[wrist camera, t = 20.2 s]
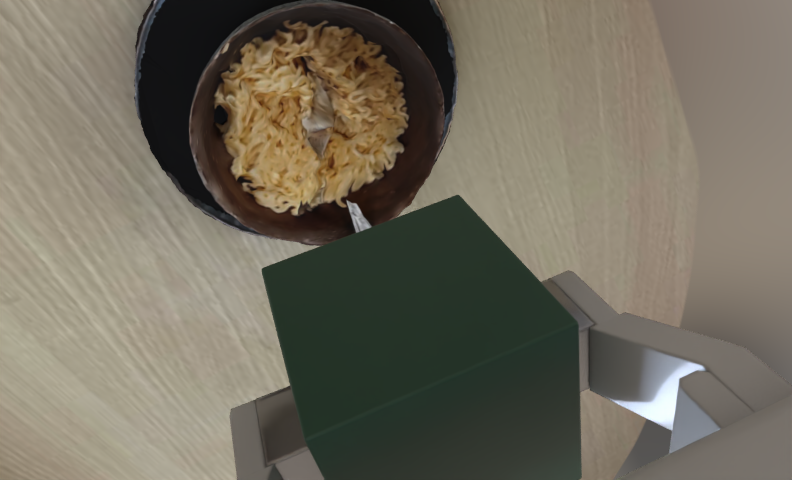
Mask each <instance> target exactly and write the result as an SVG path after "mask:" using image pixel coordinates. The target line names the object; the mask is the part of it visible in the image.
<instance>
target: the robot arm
mask: <svg viewBox="0 0 792 480" xmlns="http://www.w3.org/2000/svg"><path fill="white" fill-rule="evenodd" d="M541 283H542V284H543V285H544V286H545V287H546V288H547V289H548V290H549V291H550V293H551V294H552V295H553V296H554V297H555V298H556V299H557V300H558V301H559V302H560V303H561V304H562V305H563V306H564V307H565V308H566V310H567V311H568V312H569V313H570V314H571V315H572V316H573V317H574V318H575V319H576V320H577V321H578V324H579V366H580V392H582V391H584V390H587V389H589V388H590V390H591V391H593V392H595V393H597V394H599V395H601V396H603V397H605V398H607V399H609V400H611V401H613V402H615V403H617V404H619V405H621V406H623V407H625V408H627V409H629V410H631V411H633V412H635V413H637V414H639V415H641V416H643V417H645V418H647V419H649V420H651V421H653V422H655V423H657V424H659V425H662V426H663V427H665V428H668V429H670V430H672V435H671V443H670V450H669V454H668V455H666V456H664V457H662V458H660V459H657V460H655V461H653V462H651V463H649V464H647V465H645V466H643V467H641V468H639V469H637V470H635V471H633V472H631V473H628V474H626V475H624V476H622V477H620V478H618V479H616V480H792V385H791V384H790V383H789V382H787V381H786V380H785V379H784V378H782V377H781V376H780V375H779V374H777V373H776V372H775V371H774V370H772V369H771V368H770V367H769V366H767V365H766V364H765V363H764V362H763V361H761V360H760V359H759V358H758V357H756V356H755V355H754V354H753V353H751V352H750V351H749V350H748V349H746V348H745V347H743V346H739V345H736V344H733V343H729V342H726V341H722V340H719V339H715V338H712V337H708V336H705V335H701V334H698V333H694V332H691V331H688V330H684V329H681V328H677V327H674V326H671V325H667V324H664V323H660V322H657V321H653V320H650V319H646V318H643V317H640V316H636V315H633V314H629V313H626V312H625V313H622V314H620V315H619V314H618V313H617V312H616V311H614V310H613V309H612V308H611V307H610V306H609V305H608V304H607V303H606V302H605V301H604V300H603V299H602V298H601V297H600V296H599V295H597V294H596V293H595V292H594V291H593V290H592V289H591V288H590V287H589V286H588V285H587V284H586V283H585V282H584V281H583V280H582V279H580V278H579V277H578V276H577V275H576V274H575V273H574V272H572V271H569V270H568V271H566V272H563V273H561V274H559V275H556V276H554V277H552V278H549V279H548V280H544V281H542V282H541ZM230 424H231V432H232V440H233V449H234V457H235V465H236V474H237V480H324V478H323V476H322V474H321V472H320V470H319V468H318V466H317V464H316V462H315V460H314V458H313V456H312V455H311V453H310V451H309V449H308V447H307V445H306V443H305V441H304V438H303V434H302V430H301V426H300V422H299V418H298V414H297V410H296V406H295V402H294V398H293V394H292V390H291V386H288V387H286V388H283V389H280V390H278V391H275V392H273V393H270V394H267V395H265V396H262V397H260V398H257V399H256V400H253V401H250V402H248V403H245V404H243V405H240V406H237V407H235V408H232V409H231V412H230Z"/></svg>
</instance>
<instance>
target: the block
mask: <svg viewBox="0 0 792 480" xmlns="http://www.w3.org/2000/svg"><path fill="white" fill-rule="evenodd" d="M262 275H263V279H264V283H265V287H266V291H267V295H268V299H269V303H270V307H271V311H272V315H273V319H274V323H275V327H276V331H277V335H278V339H279V343H280V347H281V350H282V354H283V358H284V362H285V366H286V370H287V374H288V378H289V382H290V386H291V390H292V394H293V398H294V402H295V406H296V410H297V414H298V418H299V422H300V426H301V430H302V434H303V438H304V441H305V443H306V445H307V447H308V449H309V451H310V453H311V455H312V456H313V458H314V460H315V462H316V464H317V466H318V468H319V470H320V472H321V474H322V476H323V478H324V480H579V479H581V477H582V472H581V419H580V366H579V324H578V321H577V320H576V319H575V318H574V317H573V316H572V315H571V314H570V313H569V312H568V311H567V310H566V308H565V307H564V306H563V305H562V304H561V303H560V302H559V301H558V300H557V299H556V298H555V297H554V296H553V295H552V294H551V293H550V291H549V290H548V289H547V288H546V287H545V286H544V285H543V284H542V283H541V282H540V281H539V280H538V279H537V278H536V277H535V275H534V274H533V273H532V272H531V271H530V270H529V269H528V268H527V267H526V266H525V265H524V264H523V263H522V262H521V261H520V260H519V258H518V257H517V256H516V255H515V254H514V253H513V252H512V251H511V250H510V249H509V248H508V247H507V246H506V245H505V244H504V242H503V241H502V240H501V239H500V238H499V237H498V236H497V235H496V234H495V233H494V232H493V231H492V230H491V229H490V228H489V227H488V225H487V224H486V223H485V222H484V221H483V220H482V219H481V218H480V217H479V216H478V215H477V214H476V213H475V212H474V211H473V209H472V208H471V207H470V206H469V205H468V204H467V203H466V202H465V201H464V200H463V199H462V198H461V197H460V196H459V195H456V196H453V197H450V198H448V199H445V200H442V201H440V202H437V203H434V204H432V205H429V206H426V207H424V208H421V209H418V210H416V211H413V212H410V213H408V214H405V215H402V216H400V217H397V218H395V219H392V220H389V221H387V222H384V223H381V224H379V225H376V226H373V227H371V228H368V229H365V230H363V231H360V232H357V233H355V234H352V235H349V236H347V237H344V238H341V239H339V240H336V241H333V242H331V243H328V244H325V245H323V246H320V247H317V248H315V249H312V250H309V251H307V252H304V253H301V254H299V255H296V256H293V257H291V258H288V259H285V260H283V261H280V262H277V263H275V264H272V265H269V266H267V267H264V268H263V269H262Z"/></svg>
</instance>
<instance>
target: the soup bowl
mask: <svg viewBox="0 0 792 480" xmlns="http://www.w3.org/2000/svg"><path fill="white" fill-rule="evenodd" d="M143 18H144V19H143V20H142V23H141V25H140V26H139V29H138V33H137V42H136V45H135V47H136V69H135V75H136V76H135V97H134V99H135V104H136V108H137V114H138V117H139V119H140V120H141V125H142V128H143V131H144V134H145V137H146V138H147V140H148V143H149V145H150V149H151V152H152V153H153V155H154V156H155V158H156V159H157V160H158V163H159V164H160V166H161V168H162V169H163V170H164V171H165V172H166V174H167V176H169V177H170V178H171V180H172V182H173V183H174V184H175V185H176V187H177V188H178V189H179V192H181V193H182V194H184V195H185V196H186V197H187V198H188V200H189V201H190V202H191V203H192V204H193V205H194V206H195V207H197V208H199V209H200V210H201V211H202V212H203V213H204V214H206V215H208V216H210V217H212V218H213V219H215V220H218V221H220V222H222V223H223V224H225V225H227V226H229V227H232V228H235V229H238V230H240V231H242V232H246V233H249V234H252V235H256V236H262V237H267V238H270V239H281V240H286V241H294V242H299V243H302V244H305V245H317V246H321V245H325V244H328V243H331V242H333V241H336V240H339V239H341V238H344V237H347V236H349V235H352V234H355V233H357V232H360V231H363V230H365V229H368V228H371V227H373V226H376V225H379V224H381V223H384V222H387V221H389V220H392V219H394V218H396V217H397V216H398V215H399V214H400V213H401V212H402V210H403V209H405V208H406V207H407V206H409V205H410V204H411V203H412V201H413V199H414V197H415V195H416V194H417V192H418V190H419V189H420V187H421V186H422V185H423V184H424V182H425V181H426V179H427V178H428V177H429V175H430V173H431V170H432V167H433V165H434V164H435V162H436V161H437V158H438V156H439V154H440V152H441V150H442V149H443V146H444V144H445V141H446V138H447V136H448V134H449V132H450V127H451V122H452V120H453V111H454V107H455V105H456V100H457V91H458V89H457V85H458V71H457V69H456V56H455V51H454V44H453V39H452V34H451V31H450V28H449V26H448V24H447V21H446V19H445V16H444V13H443V11H442V9H441V7H440V5H439V2H438V1H437V0H153V1H152V2H151V4H150V6H149V7H148V9H147V10H146V12H145V13H144V15H143Z"/></svg>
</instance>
